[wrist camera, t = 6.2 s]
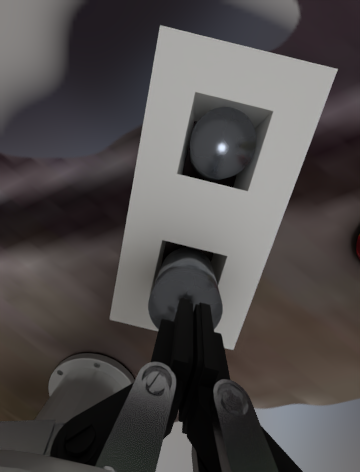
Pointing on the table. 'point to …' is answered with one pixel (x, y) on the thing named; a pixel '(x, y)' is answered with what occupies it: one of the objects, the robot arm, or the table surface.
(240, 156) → the outer pin
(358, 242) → the soda can
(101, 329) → the table surface
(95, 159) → the table surface
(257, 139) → the pin block
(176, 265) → the inner pin
